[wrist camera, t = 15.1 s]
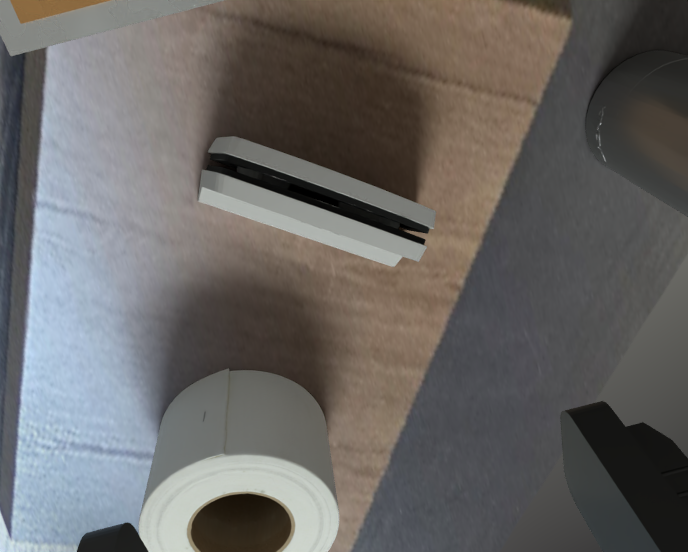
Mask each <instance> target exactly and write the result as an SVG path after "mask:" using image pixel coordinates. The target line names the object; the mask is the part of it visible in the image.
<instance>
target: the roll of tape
mask: <svg viewBox="0 0 688 552" xmlns="http://www.w3.org/2000/svg"><path fill="white" fill-rule="evenodd" d="M338 527H339V509H338V502H337V495H336V489H335V482H334V475H333V468H332V460H331V453H330V446H329V440H328V433H327V425H326V421H325V417H324V414H323V412H322V410H321V408H320V406H319V404H318V403H317V401H316V400H315V399H314V398H313V396H312V395H311V394H310V393H309V392H308V391H307V390H306V389H304V388H303V387H302V386H300V385H299V384H297V383H295V382H293V381H292V380H289V379H287V378H285V377H282V376H280V375H276V374H273V373H269V372H263V371H255V370H235V371H229V369H225V370H222V371H219V372H217V373H214V374H212V375H209V376H207V377H205V378H203V379H201V380H199V381H197V382H195V383H193V384H192V385H190V386H189V387H187V388H186V389H184V390H183V391H182V392H181V393H180V394H179V395H178V396H177V397H176V398H175V399H174V400H173V401H172V402H171V404H170V405H169V407H168V408H167V410H166V412H165V414H164V416H163V418H162V421H161V425H160V429H159V434H158V438H157V443H156V447H155V452H154V457H153V461H152V465H151V470H150V474H149V479H148V483H147V488H146V492H145V496H144V501H143V505H142V510H141V514H140V519H139V536H140V538H141V540H142V541H143V543H144V545H145V546H146V548H147V550H148V551H149V552H328V551H329V549H330V547H331V546H332V544H333V542H334V540H335V537H336V535H337V532H338Z"/></svg>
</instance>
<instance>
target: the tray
mask: <svg viewBox="0 0 688 552" xmlns="http://www.w3.org/2000/svg"><path fill="white" fill-rule="evenodd" d="M220 1H224V0H0V35H1V37H2V39H3V41H4V43H5V45H6V47H7V50H8V52H9V54H10V56H14V55H17V54H21V53H25V52H29V51H33V50H36V49H40V48H44V47H48V46H52V45H56V44H59V43H63V42H67V41H71V40H75V39H79V38H82V37H86V36H90V35H94V34H98V33H101V32H105V31H109V30H113V29H117V28H121V27H124V26H128V25H132V24H136V23H140V22H143V21H147V20H151V19H155V18H159V17H163V16H166V15H170V14H174V13H178V12H182V11H186V10H189V9H193V8H197V7H201V6H205V5H208V4H212V3H216V2H220Z"/></svg>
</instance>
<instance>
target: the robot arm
mask: <svg viewBox="0 0 688 552" xmlns="http://www.w3.org/2000/svg"><path fill="white" fill-rule="evenodd" d="M586 136H587V142H588V144H589V147H590V149H591V152H592V153H593V154H594V156H595V157H596V158H597V160H598V161H600V162H601V163H602V164H604V165H605V166H606V167H608V168H609V169H611V170H613V171H614V172H616V173H617V174H619V175H621V176H622V177H624V178H626V179H627V180H629V181H630V182H632V183H633V184H635V185H636V186H638V187H640V188H641V189H643V190H645V191H646V192H648V193H650V194H651V195H653V196H654V197H656V198H658V199H659V200H661V201H663V202H664V203H666V204H667V205H669V206H671V207H672V208H674V209H676V210H677V211H679V212H680V213H682V214H684V215H685V216H687V217H688V56H687V55H682V54H678V53H674V52H669V51H665V50H661V51H649V52H645V53H641V54H638V55H636V56H634V57H631V58H629V59H627V60H626V61H624V62H623V63H621V64H620V65H619V66H617V67H616V68H615V69H614V70H613V71H612V72H611V73H610V74H609V75H608V76H607V77H606V78H605V79H604V80H603V81H602V83H601V84H600V86H599V87H598V89H597V90H596V92H595V94H594V96H593V98H592V100H591V102H590V105H589V109H588V113H587V116H586ZM560 419H561V434H562V448H563V461H564V472H565V477H566V481H567V484H568V487H569V490H570V493H571V495H572V497H573V500H574V502H575V504H576V506H577V507H578V509H579V511H580V513H581V514H582V516H583V518H584V520H585V521H586V523H587V525H588V527H589V528H590V530H591V532H592V534H593V535H594V537H595V539H596V541H597V542H598V544H599V546H600V548H601V549H602V551H603V552H688V458H687V457H686V456H685V455H684V454H683V453H682V451H681V450H680V449H679V448H678V446H677V445H676V444H675V443H674V442H673V441H672V440H671V439H669V438H668V437H666V436H665V435H663V434H661V433H660V432H658V431H656V430H655V429H653V428H652V427H650V426H648V425H647V424H645V423H639V424H635V425H631V426H627V427H625V426H624V424H623V423H622V422H621V420H620V419H619V418H618V416H617V415H616V414H615V413H614V411H613V410H612V409H611V408H610V406H609V405H608V404H607V403H605V402H603V401H601V402H597V403H593V404H589V405H585V406H581V407H577V408H573V409H570V410H566V411H562V412H561V417H560ZM77 552H149V551H148V550H147V548H146V546H145V545H144V543H143V541H142V540H141V538H140V536H139V535H138V533H137V531H136V530H135V528H134V527H133V526H132V525H131V524H130V523H124V524H120V525H116V526H112V527H108V528H104V529H100V530H97V531H93V532H89V533H86V534H85V535H84V536H83V537H82V539H81V541H80V544H79V547H78V550H77Z"/></svg>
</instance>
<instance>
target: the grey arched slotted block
mask: <svg viewBox="0 0 688 552" xmlns="http://www.w3.org/2000/svg"><path fill="white" fill-rule="evenodd" d="M208 153H211V157H210V159H211V160H214V161H217V162H220V163H222V164H225V165H228V166H231V167H236V169H237V172H235V171H232V170H229V169H227V168H223V167H216V166H210V165H208V167H207V170H202V173H201V180H200V188H199V194H198V201H199V202H202V203H205V204H208V205H211V206H214V207H217V208H220V209H223V210H226V211H228V212H231V213H234V214H237V215H240V216H243V217H246V218H249V219H252V220H255V221H258V222H261V223H264V224H267V225H270V226H273V227H276V228H279V229H282V230H285V231H288V232H291V233H294V234H297V235H300V236H303V237H306V238H309V239H312V240H315V241H318V242H320V243H323V244H326V245H329V246H332V247H335V248H338V249H341V250H344V251H347V252H350V253H353V254H356V255H359V256H362V257H365V258H368V259H371V260H374V261H377V262H380V263H383V264H386V265H389V266H392V267H394V266H395V265H396V264H397V263H398V261H399V260H400V259H401V258H402V257H406V258H409V259H412V260H415V261H418V262H419V260H420V258H421V257H422V255H423V253H424V251H425V250H426V248H427V246H424V243H425V239H423V238H420V237H418V236H415V235H412V234H410V233H407V232H404V231H402V230H399V229H398V228H399V227H401V228H404V229H406V230H410V231H416V232H422V233H427V234H428V231H429V229H434V222H435V215H436V211H434V210H432V209H429V208H427V207H425V206H422V205H420V204H418V203H415V202H413V201H410V200H408V199H405V198H403V197H400V196H398V195H395V194H393V193H390V192H388V191H385V190H383V189H380V188H378V187H375V186H373V185H370V184H367V183H365V182H362V181H359V180H357V179H354V178H352V177H349V176H346V175H344V174H341V173H338V172H336V171H333V170H330V169H328V168H325V167H322V166H319V165H316V164H314V163H311V162H308V161H305V160H302V159H300V158H297V157H294V156H291V155H288V154H286V153H283V152H280V151H277V150H274V149H271V148H268V147H265V146H262V145H260V144H257V143H254V142H251V141H248V140H245V139H242V138H238V137H235V136H230V137H218V138H216V139H215V140H214V142H213V144H212V145H211V147H210V149H209V150H208ZM291 184H293V185H296V186H298V187H301V188H304V189H307V190H309V191H312V192H315V193H318V194H321V195H323V196H326V197H329V198H332V199H334V200H337V201H338V203H339V205H338V207H336V206H333V205H330V204H327V203H324V202H322V201H319V200H316V199H313V198H310V197H307V196H304V195H302V194H299V193H296V192H293V191H290V190H288V188H289V186H290V185H291Z"/></svg>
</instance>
